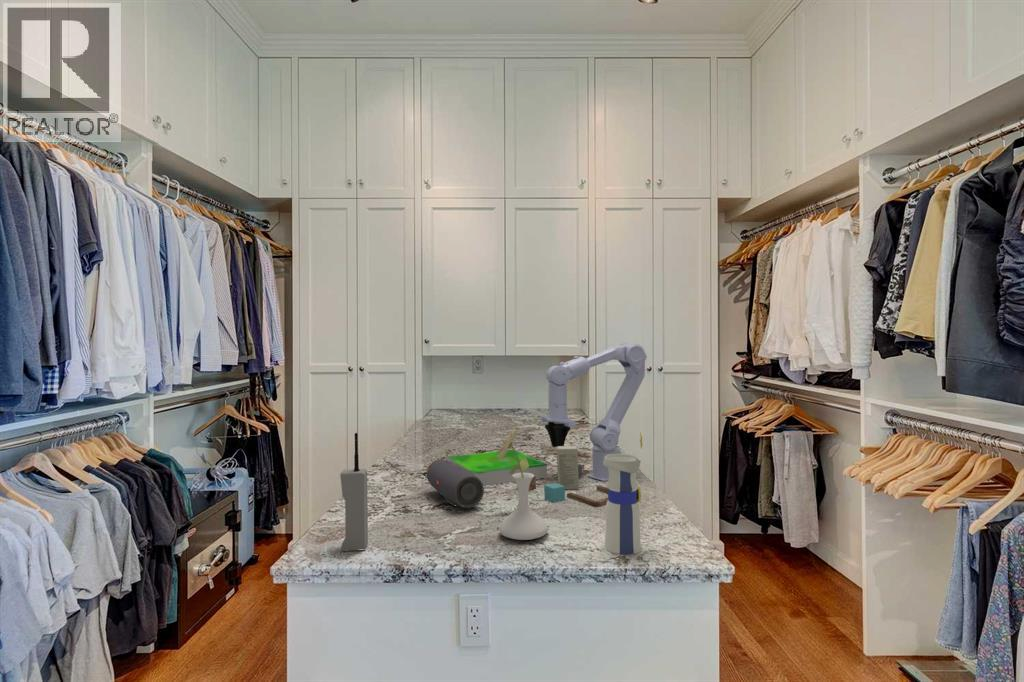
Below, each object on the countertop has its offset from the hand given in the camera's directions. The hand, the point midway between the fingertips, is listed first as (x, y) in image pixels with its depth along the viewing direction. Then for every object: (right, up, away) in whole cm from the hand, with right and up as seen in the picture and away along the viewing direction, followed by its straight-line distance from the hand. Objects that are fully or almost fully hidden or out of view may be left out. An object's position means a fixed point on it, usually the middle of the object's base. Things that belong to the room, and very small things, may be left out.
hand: (557, 447), depth 174 cm
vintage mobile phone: (-48, -12, -54) cm, 73 cm away
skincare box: (+2, -11, -8) cm, 14 cm away
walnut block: (-10, -11, -10) cm, 18 cm away
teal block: (-3, -11, -20) cm, 23 cm away
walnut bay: (+9, -11, -18) cm, 23 cm away
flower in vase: (-12, -11, -48) cm, 51 cm away
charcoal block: (+5, -10, +5) cm, 13 cm away
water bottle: (+10, -11, -55) cm, 56 cm away
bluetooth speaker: (-31, -11, -20) cm, 38 cm away
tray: (-20, -11, +9) cm, 25 cm away
